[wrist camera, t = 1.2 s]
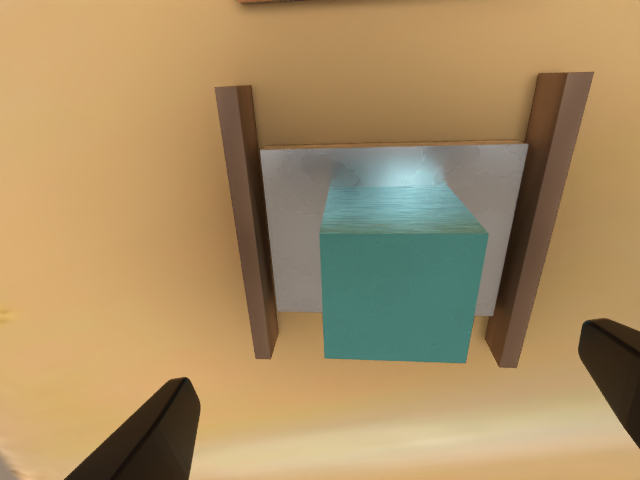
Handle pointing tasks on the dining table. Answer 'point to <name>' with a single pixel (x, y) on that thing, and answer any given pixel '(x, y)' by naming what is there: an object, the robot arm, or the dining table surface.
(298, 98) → the dining table surface
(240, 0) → the tray
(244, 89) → the walnut channel
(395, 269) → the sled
